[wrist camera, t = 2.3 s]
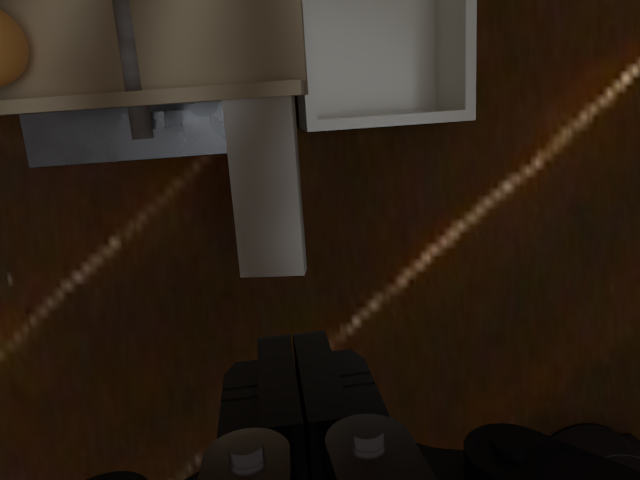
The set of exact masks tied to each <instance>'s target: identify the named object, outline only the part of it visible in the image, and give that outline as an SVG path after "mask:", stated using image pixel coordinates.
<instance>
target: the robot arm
mask: <svg viewBox="0 0 640 480" xmlns="http://www.w3.org/2000/svg"><path fill="white" fill-rule="evenodd" d="M293 346H294V358H295V365H294V358H293V352H292V345H291V339H290V334H289V335H280V336H271V337H261V338H258V360H252V361H243V362H235V363H234V364H233V366H232V367H231V368H230V369H229V370H228V371H227V372H226V374H225V375H224V380H223V391H222V398H221V407H220V415H219V424H218V433H217V440H215V441H214V442H213V443H212V444H211V445H210V446H209V447H208V448H207V449H206V451H205V453H204V455H203V458H202V462H201V466H200V469H199V471H198V472H197V473H195V474H194V475H192V476H191V477H189V478H187V479H185V480H640V440H638V439H637V438H636V437H635V436H634V435H620V434H618V433H616V432H615V431H613V430H612V429H610V428H607V427H604V426H600V425H590V424H588V425H579V426H575V427H572V428H569V429H566V430H564V431H562V432H560V433H558V434H556V435H554V436H553V437H550V436H548V435H545V434H542V433H540V432H537V431H535V430H532V429H529V428H526V427H523V426H519V425H514V424H504V423H497V424H488V425H484V426H480V427H478V428H476V429H474V430H473V431H471V432H470V433H469V434H468V435H467V436H466V438H465V440H464V450H453V449H442V448H434V447H429V446H424V445H421V444H418V443H415V441H414V439H413V438H412V436H411V434H410V433H409V431H408V430H407V428H406V427H405V426H404V425H403V424H402V423H400V422H399V421H397V420H395V419H393V418H391V417H390V416H389V414H388V411H387V409H386V407H385V404H384V402H383V400H382V397H381V395H380V393H379V391H378V388H377V386H376V385H375V381H374V379H373V377H372V374H370V370H369V368H368V365H367V363H366V361H365V359H364V358H363V357H361V356H360V355H358V354H357V353H355V352H354V351H352V350H351V349H349V350H340V351H331V348H330V345H329V342H328V338H327V335H326V332H325V331H316V332H307V333H297V334H293ZM295 370H296V371H295ZM87 480H147V479H146V478H145V477H144V476H142V475H141V474H138V473H135V472H129V471H116V472H109V473H104V474H100V475H97V476H94V477H92V478H89V479H87Z"/></svg>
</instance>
